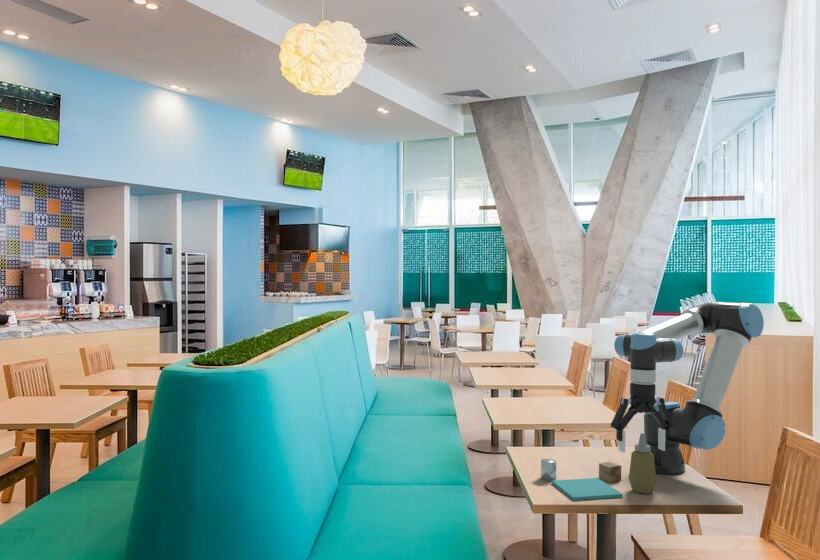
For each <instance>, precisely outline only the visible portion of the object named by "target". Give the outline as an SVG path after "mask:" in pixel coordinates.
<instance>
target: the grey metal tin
mask: <svg viewBox="0 0 820 560" xmlns="http://www.w3.org/2000/svg"><path fill="white" fill-rule="evenodd" d="M540 479H541V480H542V481H544V480H545V482H552V481H553V480H557V460H555V459H554V458H553V459H552V458H542V459H541V460H540Z"/></svg>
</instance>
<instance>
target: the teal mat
mask: <svg viewBox="0 0 820 560" xmlns="http://www.w3.org/2000/svg"><path fill="white" fill-rule="evenodd" d="M551 485H553V486H554V487H556V488H557V489H558V490H559V491H560V492H562V493H563V494H564V495H566V496H567V497H568V498H570V499H571V500H572V499H573V500H575V501H585V500H584V499H590V500H603V499H615V498H617V499H618V498H623V493H622V492H620V491H619V490H617V489H615V488H614V487H612V485H610V484H608V483H606V481H604V480H603V479H600V478H599V477H588V478H574V479H570V478H569V479H559V480H558V479H556V480H553V481H551ZM573 500H572V501H573Z"/></svg>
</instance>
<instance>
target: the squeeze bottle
mask: <svg viewBox="0 0 820 560" xmlns="http://www.w3.org/2000/svg"><path fill="white" fill-rule="evenodd" d="M650 447H651V446H650V445H647V443H646V438H645V434H644V433H640V436H639V440H638V443H635V444H634V450H633V451H632V452H631V455H630V466H629V474H628V480H629V483H630V486H631V489H632V491H634V492H635V493H637V494H651V493H653V491H654V489H655V486H656V482H657V476H656V474H657V473H655V464H654V455H653V454H652V453H651V452H650Z"/></svg>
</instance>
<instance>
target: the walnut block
mask: <svg viewBox="0 0 820 560" xmlns="http://www.w3.org/2000/svg"><path fill="white" fill-rule="evenodd" d="M598 478H599V479H600V480H602V481H604V482H607V483H613V482H619V481H622V465H621V464H618V463H617V462H616V463H615V462H612V461H610V460H609V461H606V462H599V463H598Z"/></svg>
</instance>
